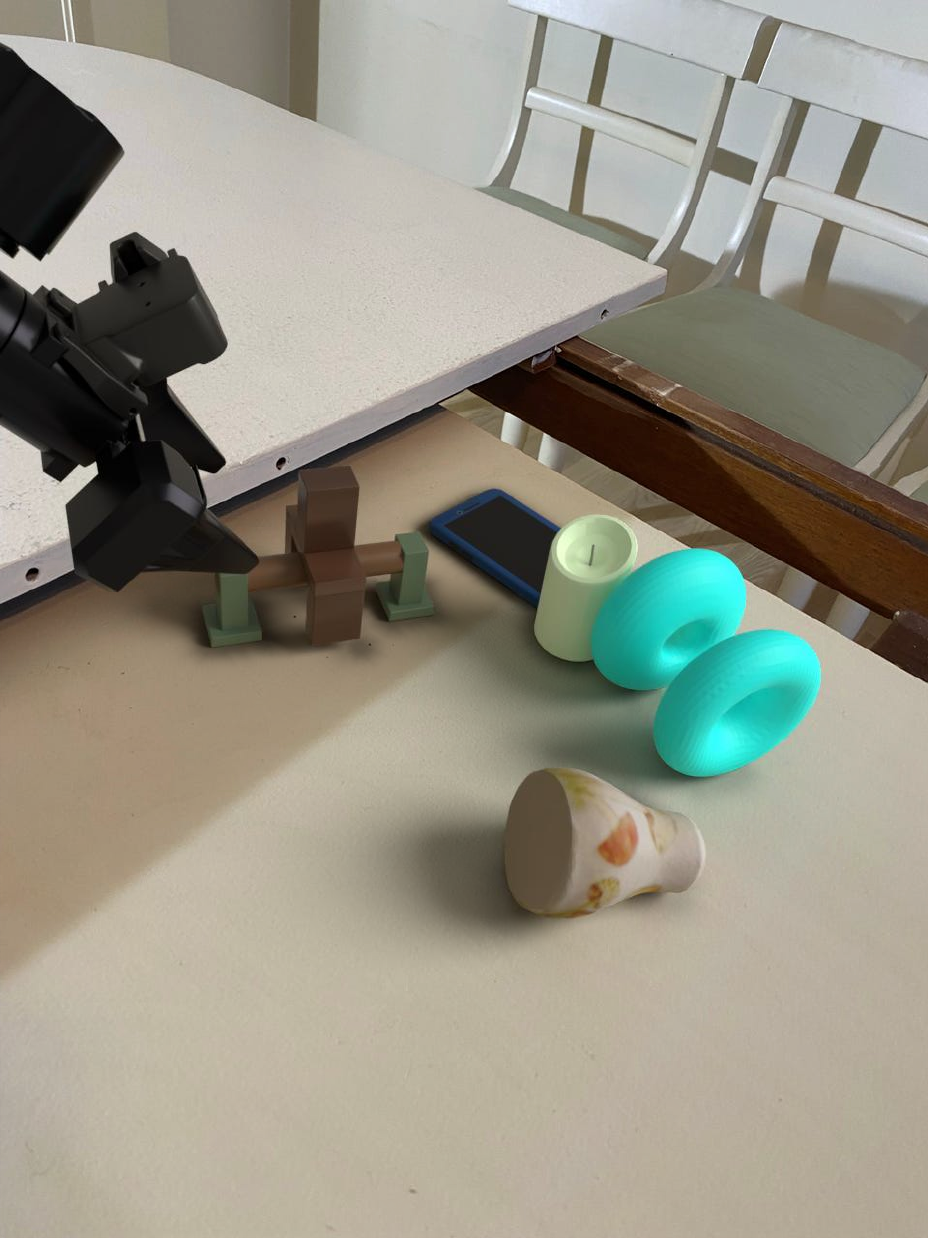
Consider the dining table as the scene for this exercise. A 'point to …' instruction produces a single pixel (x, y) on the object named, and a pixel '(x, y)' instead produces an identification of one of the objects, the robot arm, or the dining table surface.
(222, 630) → the stand
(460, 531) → the cell phone
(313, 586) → the brown stepped block
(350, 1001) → the dining table surface
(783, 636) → the donuts
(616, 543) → the candle
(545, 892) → the flowered bud vase
